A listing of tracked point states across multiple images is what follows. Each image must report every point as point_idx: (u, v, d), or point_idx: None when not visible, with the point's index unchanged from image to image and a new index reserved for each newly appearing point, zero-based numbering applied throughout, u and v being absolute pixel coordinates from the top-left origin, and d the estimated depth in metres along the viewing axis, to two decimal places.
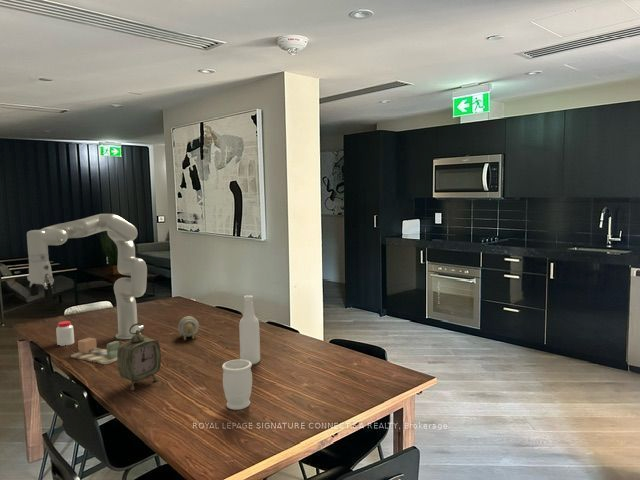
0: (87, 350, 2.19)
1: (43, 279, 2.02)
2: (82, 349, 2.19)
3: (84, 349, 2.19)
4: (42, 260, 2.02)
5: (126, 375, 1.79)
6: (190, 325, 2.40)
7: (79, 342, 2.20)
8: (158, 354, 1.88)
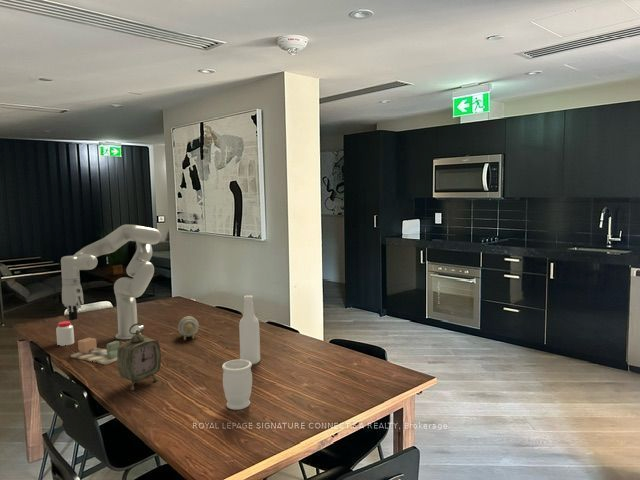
0: (87, 350, 2.19)
1: (75, 301, 2.20)
2: (82, 349, 2.19)
3: (84, 349, 2.19)
4: (74, 284, 2.20)
5: (126, 375, 1.79)
6: (190, 325, 2.40)
7: (79, 342, 2.20)
8: (158, 354, 1.88)
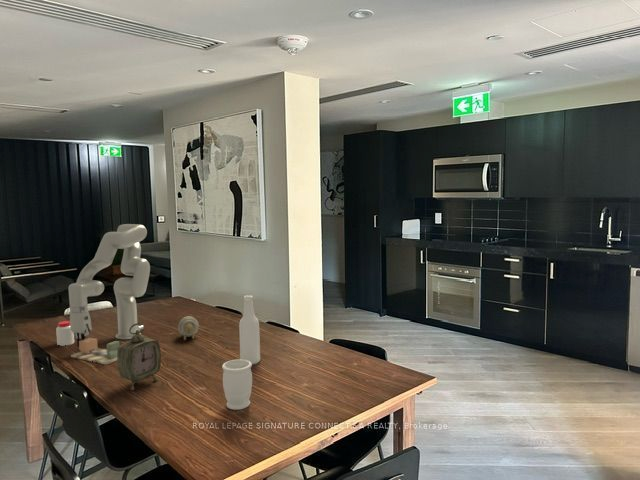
0: (88, 350, 2.19)
1: (83, 329, 2.19)
2: (83, 349, 2.19)
3: (85, 349, 2.18)
4: (82, 311, 2.20)
5: (126, 375, 1.79)
6: (190, 325, 2.40)
7: (80, 342, 2.19)
8: (158, 354, 1.88)
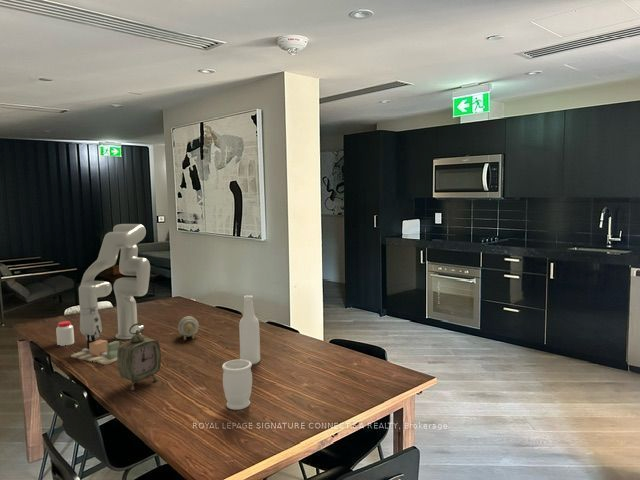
0: (98, 352, 2.16)
1: (94, 331, 2.16)
2: (93, 351, 2.16)
3: (95, 351, 2.15)
4: (92, 313, 2.17)
5: (126, 375, 1.79)
6: (190, 325, 2.40)
7: (90, 344, 2.16)
8: (158, 354, 1.88)
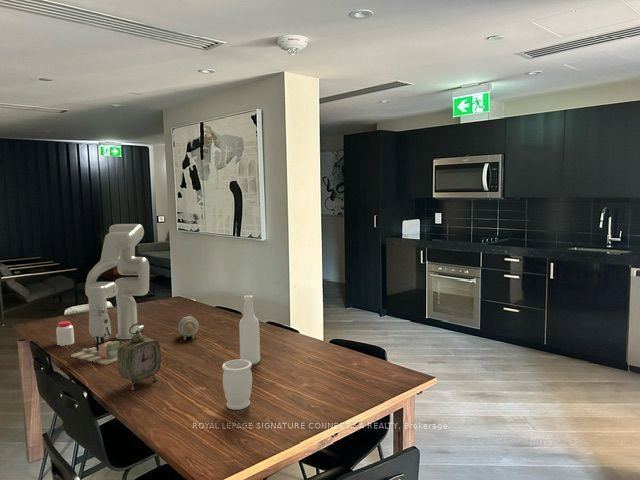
0: None
1: (103, 332, 2.13)
2: (103, 353, 2.13)
3: (105, 353, 2.12)
4: (102, 314, 2.14)
5: (126, 375, 1.79)
6: (190, 325, 2.40)
7: (100, 346, 2.13)
8: (158, 354, 1.88)
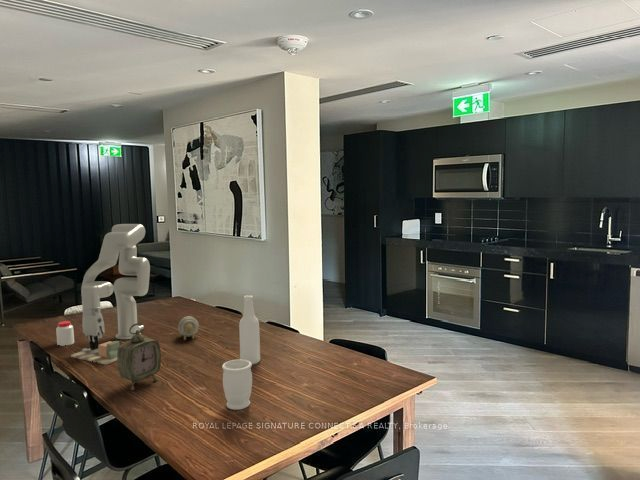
0: None
1: (97, 331, 2.15)
2: (103, 353, 2.13)
3: (105, 353, 2.12)
4: (95, 313, 2.16)
5: (126, 375, 1.79)
6: (190, 325, 2.40)
7: (100, 346, 2.13)
8: (158, 354, 1.88)
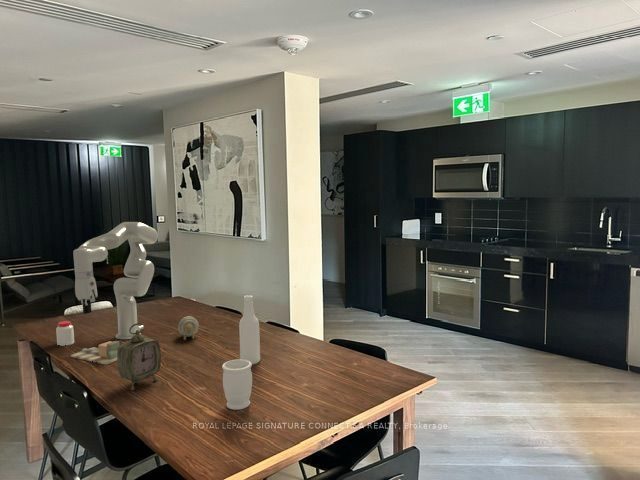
0: None
1: (89, 295, 2.15)
2: (103, 353, 2.13)
3: (105, 353, 2.12)
4: (88, 277, 2.16)
5: (126, 375, 1.79)
6: (190, 325, 2.40)
7: (100, 346, 2.13)
8: (158, 354, 1.88)
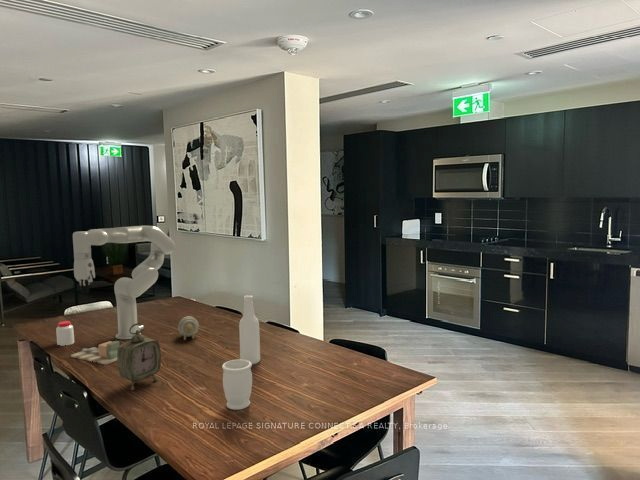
0: None
1: (87, 275, 2.26)
2: (103, 353, 2.13)
3: (105, 353, 2.12)
4: (86, 258, 2.27)
5: (126, 375, 1.79)
6: (190, 325, 2.40)
7: (100, 346, 2.13)
8: (158, 354, 1.88)
